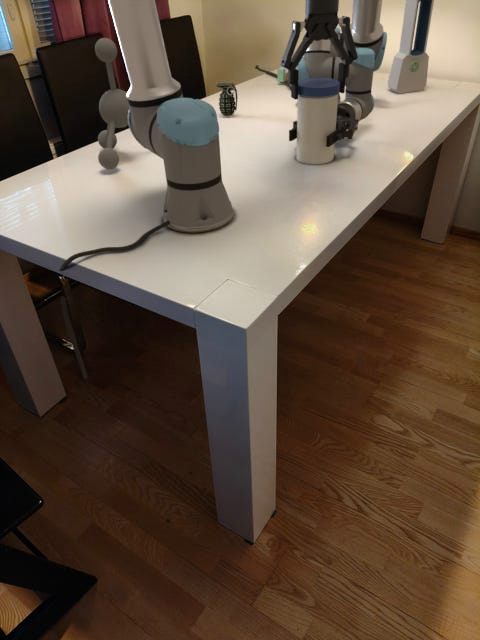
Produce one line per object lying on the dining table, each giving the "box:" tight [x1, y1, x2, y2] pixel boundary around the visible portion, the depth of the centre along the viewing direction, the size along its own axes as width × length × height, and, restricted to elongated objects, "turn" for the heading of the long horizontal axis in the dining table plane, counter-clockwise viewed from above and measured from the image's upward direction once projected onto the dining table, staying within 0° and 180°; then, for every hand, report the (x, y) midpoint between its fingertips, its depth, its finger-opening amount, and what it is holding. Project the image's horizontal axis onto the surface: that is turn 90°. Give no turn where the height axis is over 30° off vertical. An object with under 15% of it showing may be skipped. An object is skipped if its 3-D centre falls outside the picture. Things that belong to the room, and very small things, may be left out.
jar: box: [295, 93, 338, 165], centre depth 128 cm, size 10×10×18 cm
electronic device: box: [387, 0, 435, 94], centre depth 176 cm, size 12×8×30 cm, turn 105°
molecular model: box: [94, 37, 130, 170], centre depth 132 cm, size 24×22×30 cm
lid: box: [298, 78, 340, 97], centre depth 122 cm, size 11×11×2 cm
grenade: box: [215, 82, 238, 117], centre depth 166 cm, size 7×6×10 cm
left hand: (317, 95), depth 123 cm, fingers open, 12 cm apart
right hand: (308, 138), depth 127 cm, fingers closed on jar, 10 cm apart
